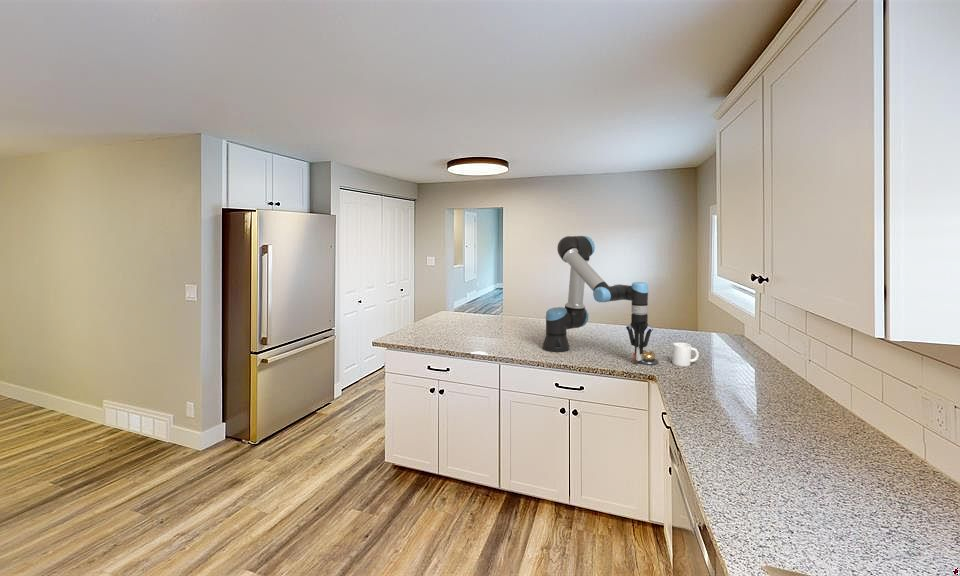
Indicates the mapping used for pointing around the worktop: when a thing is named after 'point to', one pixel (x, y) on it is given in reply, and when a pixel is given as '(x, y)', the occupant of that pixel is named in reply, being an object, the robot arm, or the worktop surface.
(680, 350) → the mug
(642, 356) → the gold rounded piece
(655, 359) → the base plate
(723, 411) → the worktop surface
